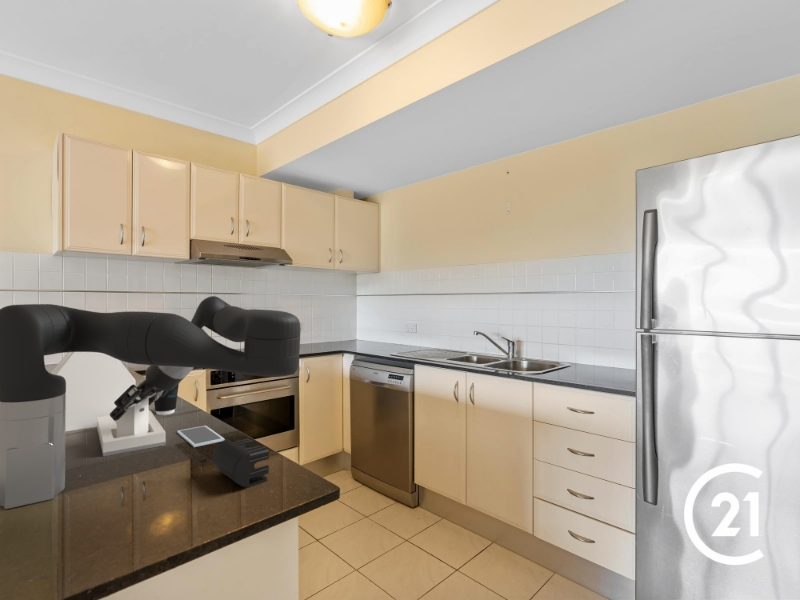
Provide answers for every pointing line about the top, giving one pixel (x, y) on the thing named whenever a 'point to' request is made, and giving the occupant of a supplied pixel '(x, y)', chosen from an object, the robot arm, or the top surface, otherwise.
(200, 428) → the phone
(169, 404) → the dixie cup
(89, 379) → the milk carton
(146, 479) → the top surface
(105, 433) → the outlet strip
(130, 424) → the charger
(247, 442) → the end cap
